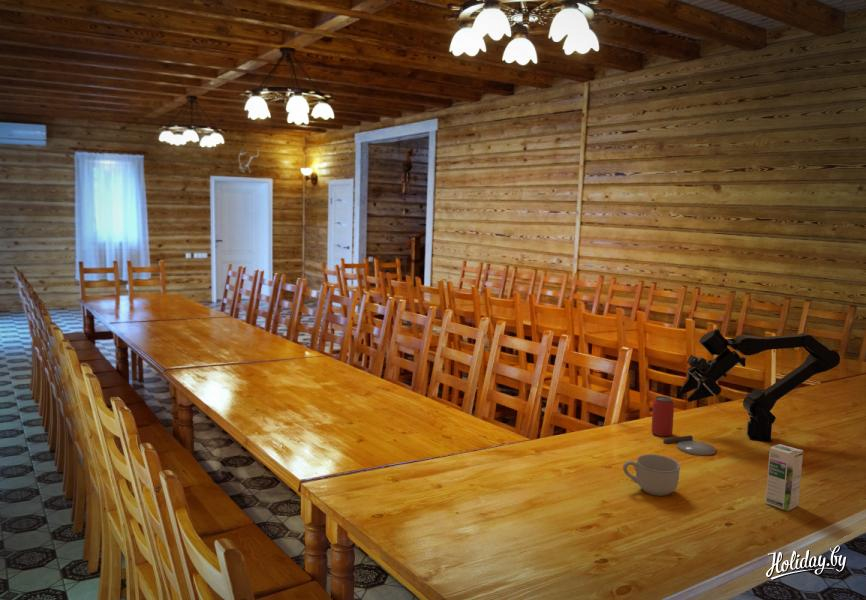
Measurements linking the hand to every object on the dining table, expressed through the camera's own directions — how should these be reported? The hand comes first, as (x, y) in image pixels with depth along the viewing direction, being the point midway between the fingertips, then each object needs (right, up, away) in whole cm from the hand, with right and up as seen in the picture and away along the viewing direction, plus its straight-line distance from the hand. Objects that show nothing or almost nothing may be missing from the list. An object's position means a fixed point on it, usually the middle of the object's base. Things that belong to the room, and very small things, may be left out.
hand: (683, 397), depth 216 cm
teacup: (-25, -18, -44) cm, 54 cm away
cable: (-4, -14, -5) cm, 15 cm away
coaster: (-1, -14, -12) cm, 19 cm away
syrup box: (+5, -19, -52) cm, 55 cm away
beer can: (-6, -13, +2) cm, 14 cm away
